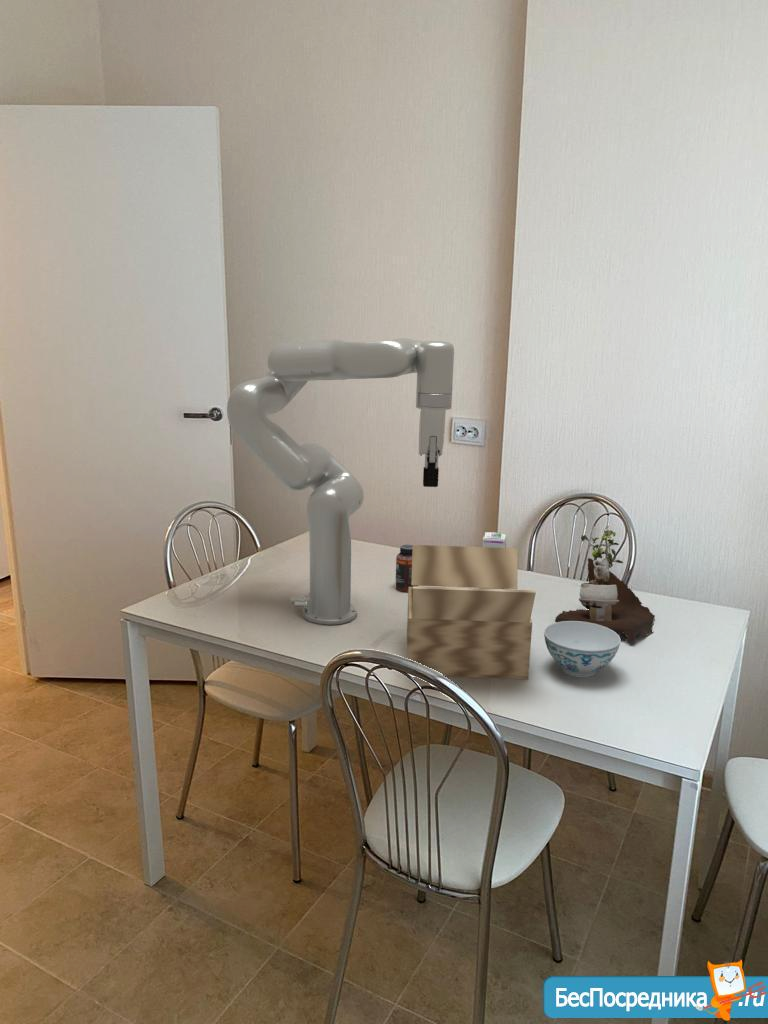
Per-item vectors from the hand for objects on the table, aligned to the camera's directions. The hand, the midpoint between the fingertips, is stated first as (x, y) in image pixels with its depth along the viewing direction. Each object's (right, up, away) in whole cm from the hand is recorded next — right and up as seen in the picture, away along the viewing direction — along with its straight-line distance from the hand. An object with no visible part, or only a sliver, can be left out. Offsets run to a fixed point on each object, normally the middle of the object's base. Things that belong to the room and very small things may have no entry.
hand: (430, 485), depth 179 cm
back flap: (+7, -18, 0) cm, 19 cm away
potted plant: (+43, -32, +16) cm, 55 cm away
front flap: (+7, -23, -21) cm, 32 cm away
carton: (+7, -36, -6) cm, 37 cm away
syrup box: (+18, -26, +35) cm, 47 cm away
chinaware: (+30, -38, -11) cm, 49 cm away
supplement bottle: (-4, -26, +34) cm, 42 cm away
